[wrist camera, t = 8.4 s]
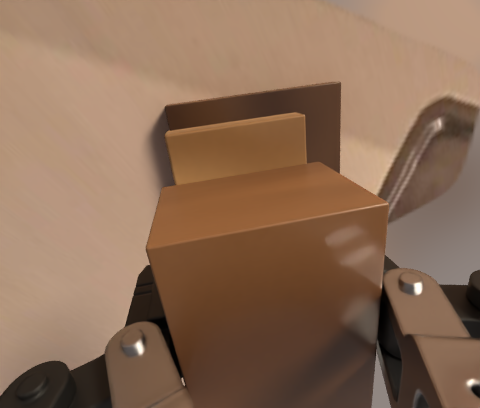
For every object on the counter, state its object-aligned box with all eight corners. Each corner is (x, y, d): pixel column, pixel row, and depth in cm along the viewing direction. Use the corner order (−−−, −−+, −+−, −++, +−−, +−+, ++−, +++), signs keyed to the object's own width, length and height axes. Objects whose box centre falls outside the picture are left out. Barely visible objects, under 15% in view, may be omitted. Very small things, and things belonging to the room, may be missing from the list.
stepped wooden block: (155, 129, 10) (122, 172, 5) (300, 108, 10) (397, 128, 5) (205, 346, 14) (214, 486, 9) (308, 323, 14) (368, 445, 9)
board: (191, 224, 26) (191, 232, 24) (165, 105, 22) (164, 106, 20) (332, 198, 27) (339, 204, 26) (332, 81, 23) (341, 81, 22)
